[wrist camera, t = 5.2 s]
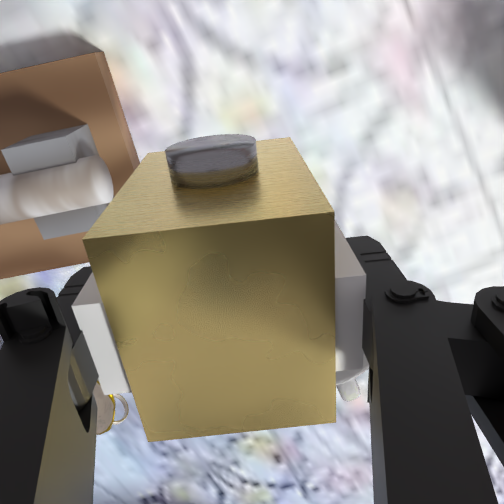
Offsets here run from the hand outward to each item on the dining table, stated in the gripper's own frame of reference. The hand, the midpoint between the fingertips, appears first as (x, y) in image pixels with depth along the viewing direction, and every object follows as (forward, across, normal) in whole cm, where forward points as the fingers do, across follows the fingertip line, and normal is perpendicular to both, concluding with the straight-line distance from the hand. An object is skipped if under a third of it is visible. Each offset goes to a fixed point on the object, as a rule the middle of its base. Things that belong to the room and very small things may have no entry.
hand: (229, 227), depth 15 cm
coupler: (0, 0, 0) cm, 0 cm away
